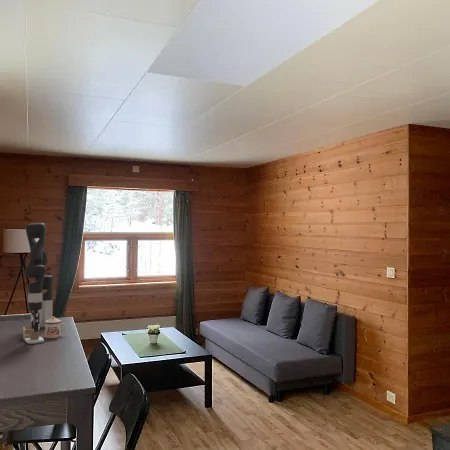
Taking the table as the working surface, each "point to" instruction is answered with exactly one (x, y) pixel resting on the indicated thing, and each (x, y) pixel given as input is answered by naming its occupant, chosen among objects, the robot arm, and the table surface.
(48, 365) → the table surface
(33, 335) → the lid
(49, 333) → the teacup with lid
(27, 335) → the box
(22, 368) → the table surface
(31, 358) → the table surface
